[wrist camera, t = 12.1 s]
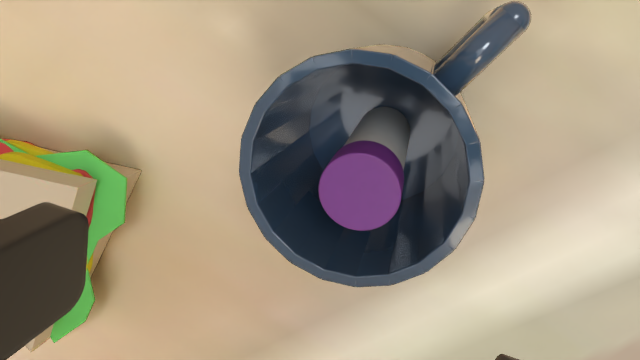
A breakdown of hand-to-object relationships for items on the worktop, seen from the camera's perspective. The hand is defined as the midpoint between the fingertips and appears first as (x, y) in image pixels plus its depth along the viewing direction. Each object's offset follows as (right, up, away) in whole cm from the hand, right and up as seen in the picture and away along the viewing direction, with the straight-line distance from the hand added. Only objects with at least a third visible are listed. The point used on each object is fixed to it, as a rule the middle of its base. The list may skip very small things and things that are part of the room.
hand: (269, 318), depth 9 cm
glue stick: (+4, +5, +17) cm, 18 cm away
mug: (+6, +7, +17) cm, 19 cm away
